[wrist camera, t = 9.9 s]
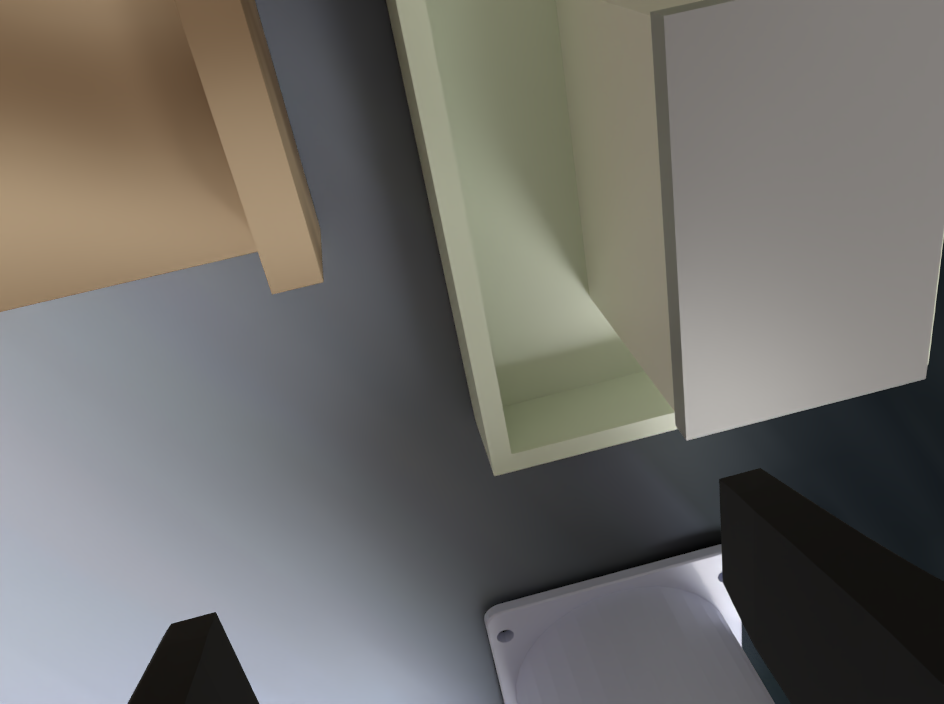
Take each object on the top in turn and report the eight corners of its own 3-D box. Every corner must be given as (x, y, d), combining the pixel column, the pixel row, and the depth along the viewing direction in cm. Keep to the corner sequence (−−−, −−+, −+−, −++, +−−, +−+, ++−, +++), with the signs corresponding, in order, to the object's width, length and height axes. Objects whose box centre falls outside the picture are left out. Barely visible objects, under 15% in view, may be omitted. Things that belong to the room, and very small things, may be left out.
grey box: (765, 277, 20) (922, 403, 15) (588, 321, 20) (687, 464, 15) (767, -66, 17) (978, -54, 11) (548, -20, 16) (663, 15, 11)
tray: (867, 319, 22) (928, 363, 20) (475, 419, 22) (494, 476, 19) (911, -268, 16) (1007, -295, 14) (352, -156, 15) (361, -166, 13)
